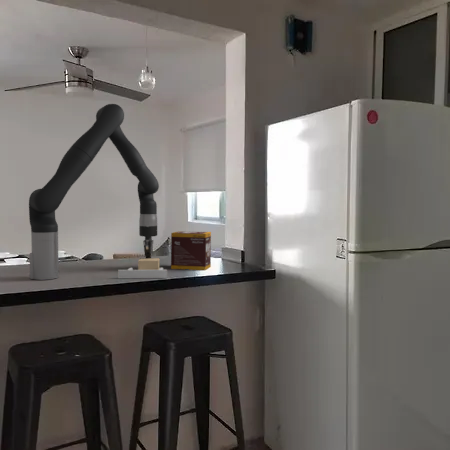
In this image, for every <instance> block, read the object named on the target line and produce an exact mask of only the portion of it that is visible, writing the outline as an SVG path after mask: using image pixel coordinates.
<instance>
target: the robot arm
mask: <svg viewBox="0 0 450 450" xmlns="http://www.w3.org/2000/svg"><path fill="white" fill-rule="evenodd" d="M124 119H125V112H124V109H123V108H122V107H121V106H120V105H119V104H117V103H108V104H106V105H104V106H102V107H101V108H99V109H98V110H97V111H96V115H95V121H94V123H93V124H92V125H91V127H90V128H89V129H88V130H87V131H85V132H84V133H83V134H82V135H81V136H80V137H78V139H77V140H75V142H74V143H73V144H72V145H71V146H70V147H69V149H68V150H67V151H66V153H65V154H64V155H63V156H62V159H61V161H60V163H59V164H58V167H57V169H56V171H55V173H54V175H52V177H51V178H50V179H49V180H48V182H47V183H45V185H44V186H43V187H42V188H37V189H36V190H34V191H32V192H31V193H30V196H29V198H28V212H29V213H28V216H29V225H30V232H31V234H30V235H31V241H30V242H31V245H30V246H31V252H30V253H29V280H37V281H41V280H53V279H58V278H59V277H60V275H59V273H60V270H59V267H60V265H59V225H58V223H57V219H56V210H57V209H59V207H60V205H61V203H62V202H63V200H64V199H65V197H66V195H67V193H68V192H69V190H70V189H71V188H72V186H73V185H74V184H75V183H76V182H77V181H78V179H79V178H80V177H81V176H82V175H83V173H84V172H85V171H86V170H87V168H88V167H89V166H90V165H91V164H92V162H93V160H94V159H96V158H95V157H97V154H99V152H100V151H101V149H102V147H103V146H104V144H105V143H106V141H107V140H108V139H109V140H110V141H111V143H112V144H113V145H114V147H115V148H116V150H117V151H118V153H119V154H120V155H121V157H122V159H123V161H124V163H125V164H126V166H127V168H128V170H129V171H130V173H131V174H132V176H134V177H135V178H137V181H138V183H137V196H138V201H139V220H138V221H139V222H138V223H139V224H138V226H139V228H138V229H139V231H138V233H139V237H144V240H143V244H142V245H143V252H144V258H152V256H153V249H154V239H153V237H157V236H158V213H157V212H158V211H157V209H158V208H157V207H158V206H157V205H158V204H157V202H156V200H155V196H154V194H155V193H157V192H158V191H159V188H160V184H159V181H158V179H157V177H156V176H155V174H154V173H153V172H152V170H151V169H150V168H149V167H148V166H147V164H146V163H145V160H144V158H143V157H142V155H141V153H140V152H139V150H138V149H137V147H135V145H134V144H132V142H131V141H130V140H129V139H128V137H126V135H125V134H124V132H123V129H122V127H121V125H122V123H123V122H124Z"/></svg>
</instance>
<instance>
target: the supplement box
mask: <svg viewBox="0 0 450 450" xmlns="http://www.w3.org/2000/svg"><path fill="white" fill-rule="evenodd" d="M170 237H171V238H170V239H171V240H170V242H171V243H170V245H171V246H170V258H171V259H170V269H171V270H185V269H189V270H190V271H191V270H192V271H206V270H208V269H209V268H211V267H212V264H211V261H212V260H211V257H212V251H211V250H212V249H211V247H212V240H211V239H212V232H211V231H179V230H178V231H174V232H171V235H170ZM189 270H188V271H189Z"/></svg>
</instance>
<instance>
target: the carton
mask: <svg viewBox="0 0 450 450" xmlns="http://www.w3.org/2000/svg"><path fill="white" fill-rule="evenodd" d="M137 264H138V265H137V266H138V267H137V270H159V269H160V268H161V267H160V264H161V263H160V258H157V257H154V258H152V257H151V258H146V257H143V258H141V257H140V258H139V259H138V262H137Z"/></svg>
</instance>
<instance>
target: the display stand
mask: <svg viewBox="0 0 450 450" xmlns="http://www.w3.org/2000/svg"><path fill="white" fill-rule="evenodd" d="M117 271H118V272H117V274H118V275H117V276H118V279H167V278H168V269H164V267H160V269H159V270H138V269H133V267H129V268H128V269H117Z"/></svg>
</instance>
